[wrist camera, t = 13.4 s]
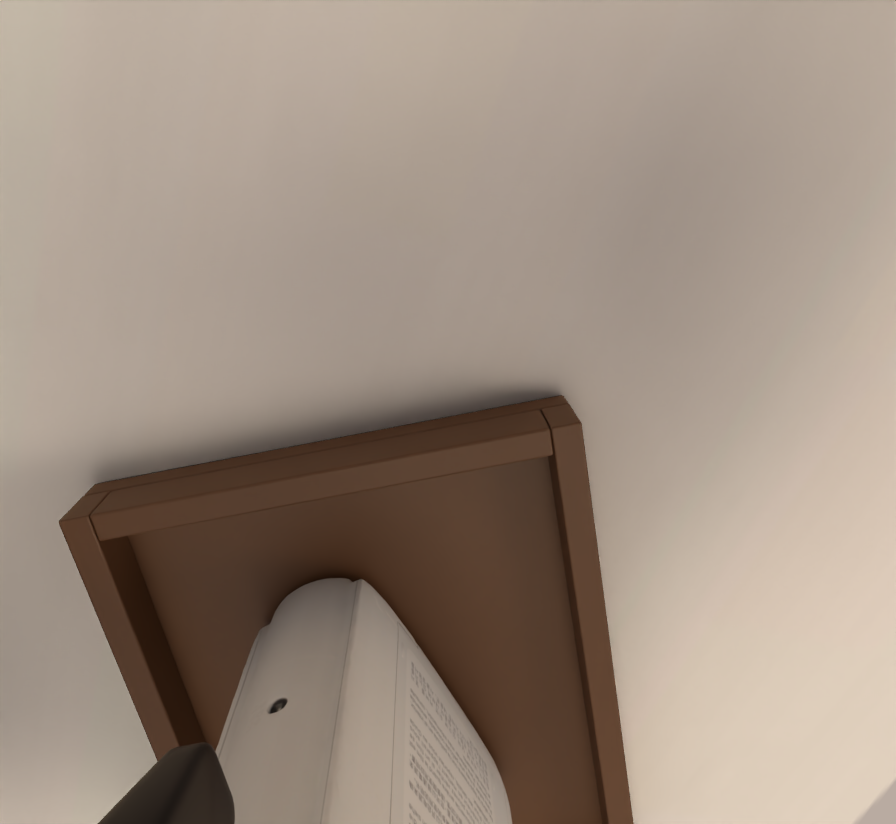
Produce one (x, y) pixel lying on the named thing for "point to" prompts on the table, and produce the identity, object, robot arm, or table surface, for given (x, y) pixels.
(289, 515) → the tray
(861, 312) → the table surface
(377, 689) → the photo printer
